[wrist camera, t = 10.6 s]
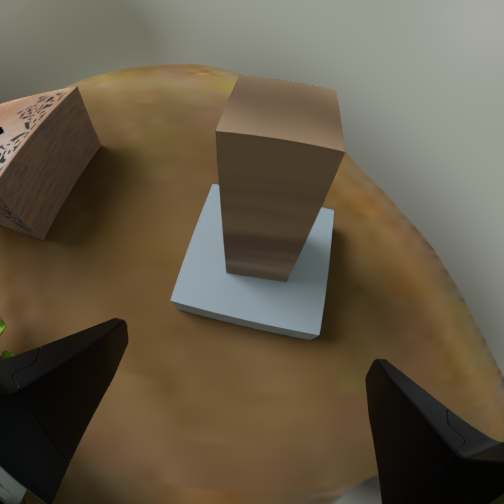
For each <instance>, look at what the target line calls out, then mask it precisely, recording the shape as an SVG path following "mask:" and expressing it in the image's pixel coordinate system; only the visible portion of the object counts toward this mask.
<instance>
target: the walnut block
mask: <svg viewBox="0 0 504 504" xmlns="http://www.w3.org/2000/svg"><path fill="white" fill-rule="evenodd" d="M216 146H217V162H218V177H219V192H220V205H221V218H222V230H223V242H224V254H225V265H226V273H230V274H236V275H242V276H249V277H255V278H261V279H268V280H274V281H281V282H287V280H288V278H289V276H290V274H291V272H292V270H293V268H294V266H295V263H296V261H297V259H298V257H299V255H300V253H301V251H302V249H303V246H304V244H305V242H306V240H307V238H308V236H309V234H310V231H311V229H312V227H313V225H314V223H315V220H316V218H317V216H318V214H319V211H320V209H321V207H322V205H323V202H324V200H325V198H326V196H327V193H328V191H329V189H330V186H331V184H332V182H333V179H334V177H335V175H336V172H337V170H338V168H339V165H340V163H341V160H342V158H343V156H344V153H345V147H344V139H343V132H342V125H341V118H340V111H339V105H338V100H337V94H336V91H335V90H331V89H327V88H322V87H317V86H313V85H307V84H302V83H297V82H291V81H284V80H278V79H270V78H262V77H253V76H243V75H239V77H238V79H237V82H236V84H235V86H234V88H233V91H232V93H231V95H230V97H229V100H228V102H227V104H226V107H225V109H224V112H223V114H222V116H221V119H220V121H219V124H218V126H217V129H216Z"/></svg>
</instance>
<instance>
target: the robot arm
mask: <svg viewBox="0 0 504 504" xmlns="http://www.w3.org/2000/svg"><path fill="white" fill-rule="evenodd" d="M127 344H128V331H127V324H126V321H125V320H122V319H118V318H114V319H111V320H109V321H106V322H103V323H101V324H98V325H96V326H93V327H91V328H88V329H85V330H83V331H80V332H78V333H75V334H72V335H70V336H67V337H65V338H62V339H59V340H57V341H54V342H52V343H49V344H46V345H44V346H41V347H38V348H36V349H33V350H30V351H27V352H25V353H22V354H19V355H15V356H12V357H8V358H5V359H1V360H0V504H26V503H25V501H24V496H25V495H26V493H27V491H29V492H30V493H31V494H33V495H34V496H36V497H37V498H38V499H40V500H41V501H43V502H44V503H46V504H52V503H53V500H54V498H55V495H56V493H57V491H58V488H59V486H60V484H61V481H62V479H63V477H64V475H65V472H66V470H67V468H68V466H69V463H70V461H71V459H72V457H73V455H74V453H75V451H76V449H77V447H78V444H79V442H80V440H81V438H82V436H83V434H84V432H85V430H86V428H87V426H88V424H89V422H90V420H91V419H92V417H93V415H94V413H95V411H96V409H97V407H98V405H99V403H100V401H101V400H102V398H103V396H104V394H105V392H106V390H107V388H108V387H109V385H110V383H111V381H112V379H113V377H114V375H115V373H116V371H117V368H118V366H119V363H120V361H121V359H122V356H123V354H124V352H125V349H126V347H127ZM366 391H367V402H368V413H369V420H370V425H371V430H372V436H373V442H374V448H375V454H376V460H377V467H378V474H379V482H380V489H381V497H382V498H381V499H382V504H504V442H499V441H495V440H493V439H491V438H490V437H488V436H487V435H485V434H483V433H482V432H480V431H479V430H477V429H476V428H474V427H473V426H471V425H470V424H468V423H467V422H465V421H464V420H462V419H461V418H460V417H458V416H457V415H456V414H454V413H453V412H452V411H450V410H449V409H447V408H446V407H445V406H444V405H443V404H442V403H440V402H439V401H438V400H436V399H435V398H434V397H433V396H431V395H430V394H429V393H428V392H426V391H425V390H424V389H422V388H421V387H420V386H419V385H417V384H416V383H415V382H414V381H412V380H411V379H410V378H408V377H407V376H406V375H405V374H403V373H402V372H401V371H400V370H398V369H397V368H396V367H395V366H393V365H392V364H391V363H389V362H388V361H387V360H385V359H375V360H374V361H373V363H372V365H371V367H370V369H369V371H368V373H367V375H366Z"/></svg>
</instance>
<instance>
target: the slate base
mask: <svg viewBox="0 0 504 504" xmlns="http://www.w3.org/2000/svg"><path fill="white" fill-rule="evenodd" d="M333 215H334V210H330V209H326V208H322V207H321V209H320V211H319V214H318V216H317V218H316V220H315V223H314V225H313V227H312V229H311V231H310V234H309V236H308V238H307V240H306V242H305V244H304V246H303V249H302V251H301V253H300V255H299V257H298V259H297V261H296V263H295V266H294V268H293V270H292V272H291V274H290V276H289V278H288V280H287V282H281V281H274V280H268V279H261V278H255V277H249V276H242V275H236V274H230V273H226V265H225V254H224V242H223V230H222V218H221V205H220V192H219V185H216V184H213V185H212V187H211V190H210V192H209V195H208V197H207V200H206V202H205V205H204V207H203V210H202V212H201V215H200V218H199V220H198V223H197V226H196V228H195V231H194V234H193V236H192V239H191V242H190V245H189V247H188V250H187V253H186V256H185V259H184V261H183V264H182V267H181V270H180V273H179V276H178V279H177V282H176V285H175V288H174V291H173V294H172V297H171V300H170V301H171V302H172V303H173V304H174V306H175V307H176V308H177V309H179V310H182V311H186V312H190V313H193V314H197V315H201V316H204V317H208V318H212V319H216V320H220V321H224V322H228V323H232V324H236V325H241V326H245V327H249V328H254V329H258V330H263V331H267V332H272V333H277V334H282V335H287V336H292V337H297V338H302V339H307V340H312V339H314V338H315V337H317V336H319V335H320V329H321V322H322V316H323V309H324V302H325V294H326V287H327V278H328V270H329V261H330V251H331V240H332V229H333Z"/></svg>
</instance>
